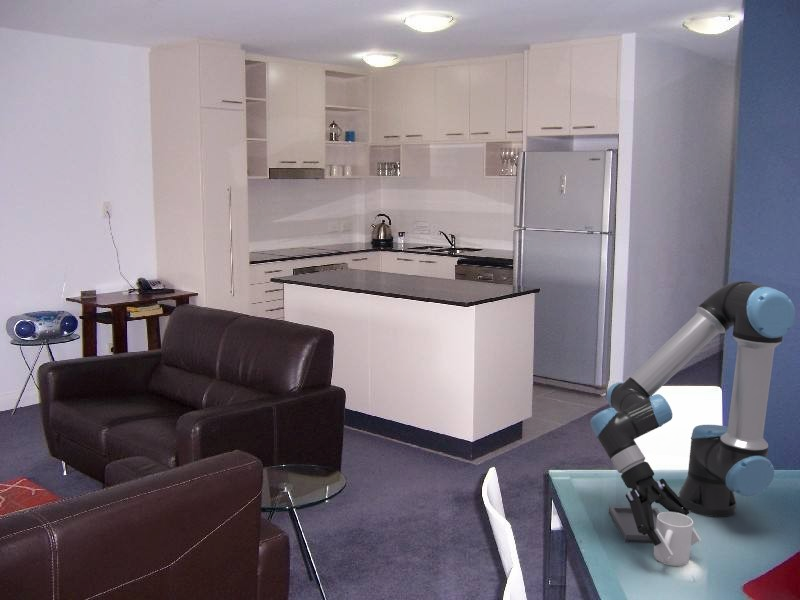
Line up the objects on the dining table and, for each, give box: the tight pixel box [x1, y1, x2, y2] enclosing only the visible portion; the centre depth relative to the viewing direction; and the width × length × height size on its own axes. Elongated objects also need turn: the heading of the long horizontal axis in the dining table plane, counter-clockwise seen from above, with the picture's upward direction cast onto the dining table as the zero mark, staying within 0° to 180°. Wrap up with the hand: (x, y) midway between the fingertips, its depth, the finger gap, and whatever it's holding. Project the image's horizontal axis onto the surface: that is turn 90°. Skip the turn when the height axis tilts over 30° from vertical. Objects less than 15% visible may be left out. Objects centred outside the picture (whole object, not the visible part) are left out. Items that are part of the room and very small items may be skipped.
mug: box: [653, 511, 694, 567], centre depth 195 cm, size 12×8×10 cm
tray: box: [608, 505, 661, 544], centre depth 213 cm, size 13×17×2 cm
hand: (682, 549), depth 193 cm, fingers closed on mug, 11 cm apart
